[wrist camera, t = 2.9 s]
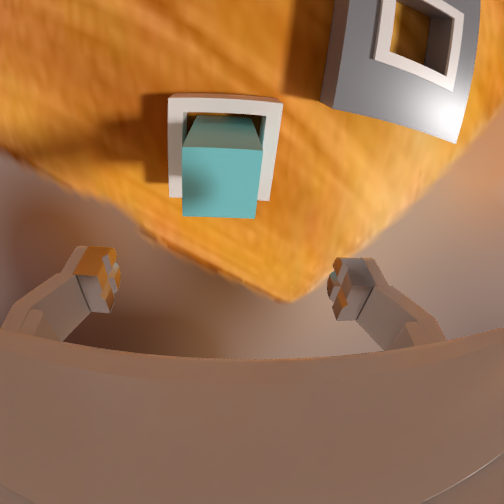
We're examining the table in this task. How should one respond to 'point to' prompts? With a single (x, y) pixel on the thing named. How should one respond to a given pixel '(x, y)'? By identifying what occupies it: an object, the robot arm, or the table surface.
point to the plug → (221, 167)
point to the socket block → (402, 64)
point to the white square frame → (223, 104)
